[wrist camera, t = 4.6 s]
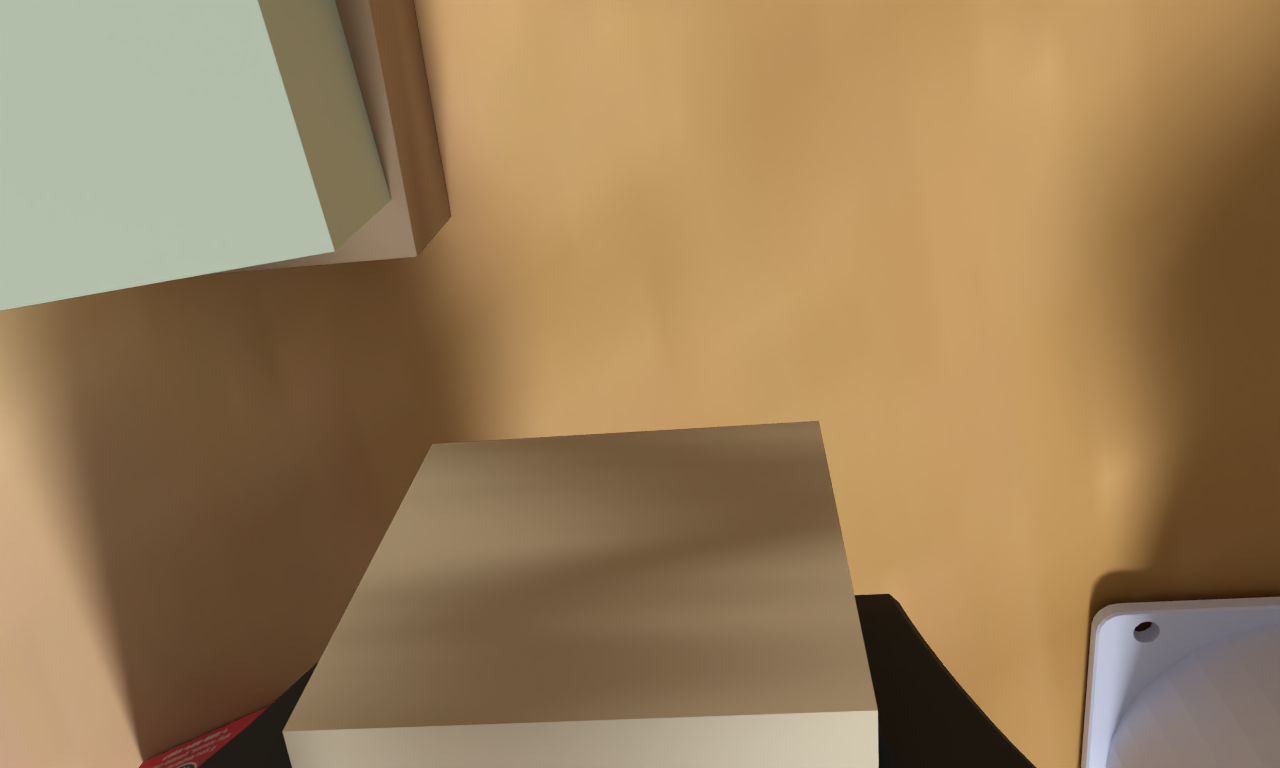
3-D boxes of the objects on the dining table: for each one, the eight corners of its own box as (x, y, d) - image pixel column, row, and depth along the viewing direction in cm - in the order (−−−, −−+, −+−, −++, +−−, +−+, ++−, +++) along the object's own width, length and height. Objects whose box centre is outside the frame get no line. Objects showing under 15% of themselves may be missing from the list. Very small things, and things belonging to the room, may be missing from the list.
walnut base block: (385, -192, 19) (329, -209, 16) (455, 212, 22) (416, 256, 19) (-2, -143, 20) (-119, -152, 17) (112, 242, 22) (27, 289, 20)
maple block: (818, 420, 13) (877, 710, 8) (830, 737, 15) (884, 1121, 10) (432, 443, 13) (283, 731, 9) (488, 747, 15) (387, 1121, 10)
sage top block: (278, -200, 16) (189, -221, 14) (391, 199, 19) (334, 251, 16) (-91, -114, 17) (-246, -117, 14) (60, 260, 19) (-49, 319, 17)
